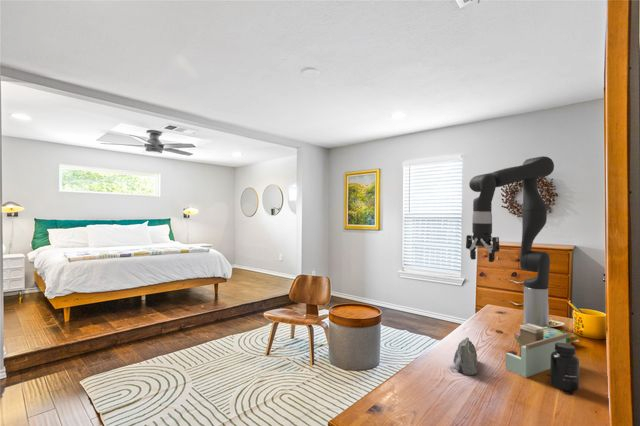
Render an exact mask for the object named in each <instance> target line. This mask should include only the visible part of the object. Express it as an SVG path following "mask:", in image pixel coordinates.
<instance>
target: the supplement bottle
mask: <svg viewBox="0 0 640 426" xmlns="http://www.w3.org/2000/svg"><path fill="white" fill-rule="evenodd" d="M576 353H577V352H576V346H574V345H572V344H567V343H560V342H558V343H555V351H554V352H552V354H551V364H550V369H549V370H550V371H549V372H550V373H549V376H550V377H549V382H550V384H551V385H552V386H553V387H554V388H556V389H559V390H560V391H561V390H562V391H564V392H569V393H571V392H572V393H573V392H578V390H579V387H580V360H579V359H580V358H578V356H577V355H576Z"/></svg>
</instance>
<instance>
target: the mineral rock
mask: <svg viewBox="0 0 640 426" xmlns="http://www.w3.org/2000/svg"><path fill="white" fill-rule="evenodd" d="M476 350H477V349H476V346H475V344H474V343H473V342H472V341H470V338H469V337H465V339H464V338H463V339H462V340H461V341H460V342H459V343H458V346H457V349H456V350H455V353H454V357H453V363H454V366H455V369H456V370H457V372H458V373H461V374H462V373H463V374H465V376H466V375H468V376H470V375H473V376H474V375H475V376H476V375H477V372H478V368H477V361H478V355H477V354H478V353H477V351H476Z"/></svg>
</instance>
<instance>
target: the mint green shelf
mask: <svg viewBox="0 0 640 426" xmlns="http://www.w3.org/2000/svg"><path fill="white" fill-rule="evenodd" d="M568 333H569V332H566V333H564V334H560V335H557V336H553V337H550V338H546V339H543V340H539V341H536V342H533V343H529V344H526V345H525V346H521V357H520V355H519V356H518V355H516V354H513V353H511V352H507V353H505V370H507V371H509V372H512V373H514V374H516V375H519V376H520V377H523V378H528V377H531V376H534V375H537V374H540V373H542V372H545V371H548V370H550V364H551V354H552V352H554V351H555V343H558V342H560V343H566V338H567V337H568Z"/></svg>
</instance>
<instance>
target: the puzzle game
mask: <svg viewBox="0 0 640 426" xmlns="http://www.w3.org/2000/svg"><path fill="white" fill-rule="evenodd" d="M543 328H544V338H543V339H546V338H550V337H553V336H557V335H560V334H564V333H568V337H567V338H566V343H567V344H570V345H572V343H573V342H577V341H578V340H579V336H578V335H576V334H572V333H569V332H566V331H562V330H559V329H556V328H553V327H550V326H548V327H543ZM514 339H515V340H516V341H517V343H518V344H519V345H520V331H519V332H516V333H514Z"/></svg>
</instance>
